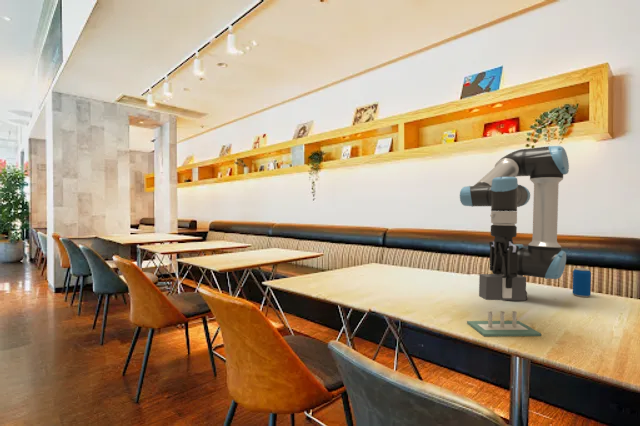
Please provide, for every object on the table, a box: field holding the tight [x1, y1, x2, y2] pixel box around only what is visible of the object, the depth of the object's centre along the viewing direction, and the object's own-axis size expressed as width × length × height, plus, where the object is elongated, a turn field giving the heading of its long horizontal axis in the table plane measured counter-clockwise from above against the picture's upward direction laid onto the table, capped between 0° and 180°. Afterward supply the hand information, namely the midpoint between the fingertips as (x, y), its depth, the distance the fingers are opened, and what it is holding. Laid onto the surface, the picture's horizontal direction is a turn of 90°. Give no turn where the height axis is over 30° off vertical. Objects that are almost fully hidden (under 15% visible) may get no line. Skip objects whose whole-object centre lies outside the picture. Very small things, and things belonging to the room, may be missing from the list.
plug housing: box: [478, 273, 527, 301], centre depth 115 cm, size 13×5×7 cm, turn 91°
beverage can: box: [572, 267, 592, 298], centre depth 158 cm, size 6×6×12 cm
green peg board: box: [466, 310, 542, 337], centre depth 116 cm, size 18×12×6 cm, turn 91°
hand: (502, 295), depth 115 cm, fingers closed on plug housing, 5 cm apart
